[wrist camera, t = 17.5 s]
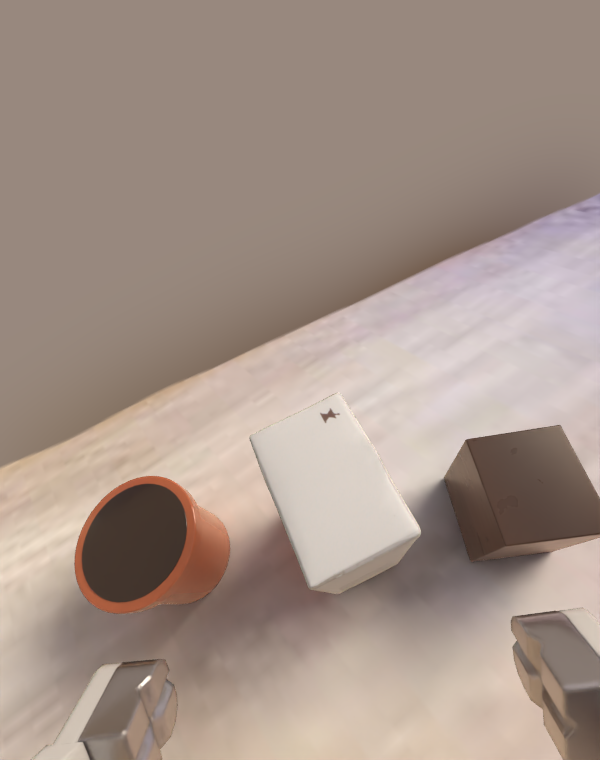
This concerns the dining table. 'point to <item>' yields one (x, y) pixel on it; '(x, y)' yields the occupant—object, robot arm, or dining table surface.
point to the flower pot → (149, 548)
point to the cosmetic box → (334, 496)
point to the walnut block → (522, 494)
